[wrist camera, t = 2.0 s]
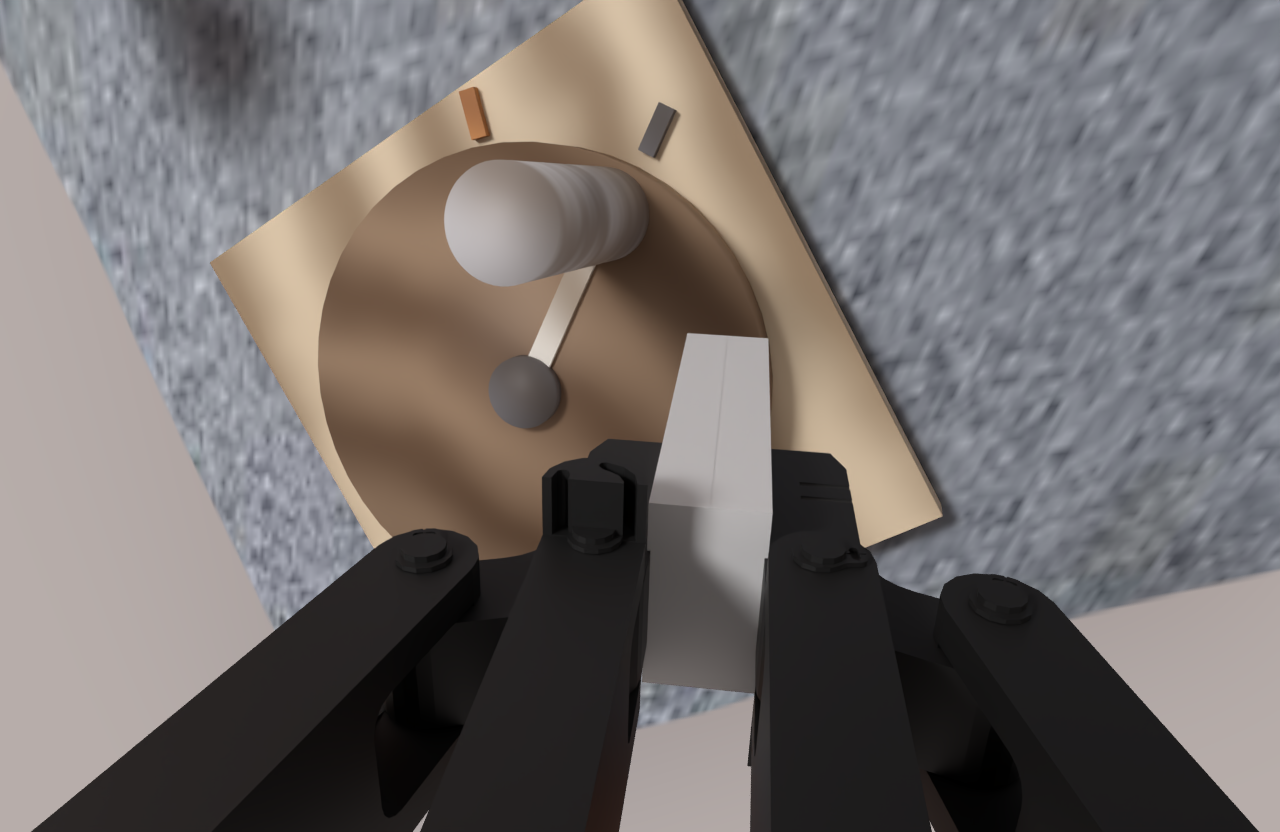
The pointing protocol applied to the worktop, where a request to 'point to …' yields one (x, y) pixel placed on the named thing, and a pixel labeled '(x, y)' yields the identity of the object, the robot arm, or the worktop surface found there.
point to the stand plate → (659, 144)
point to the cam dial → (513, 331)
